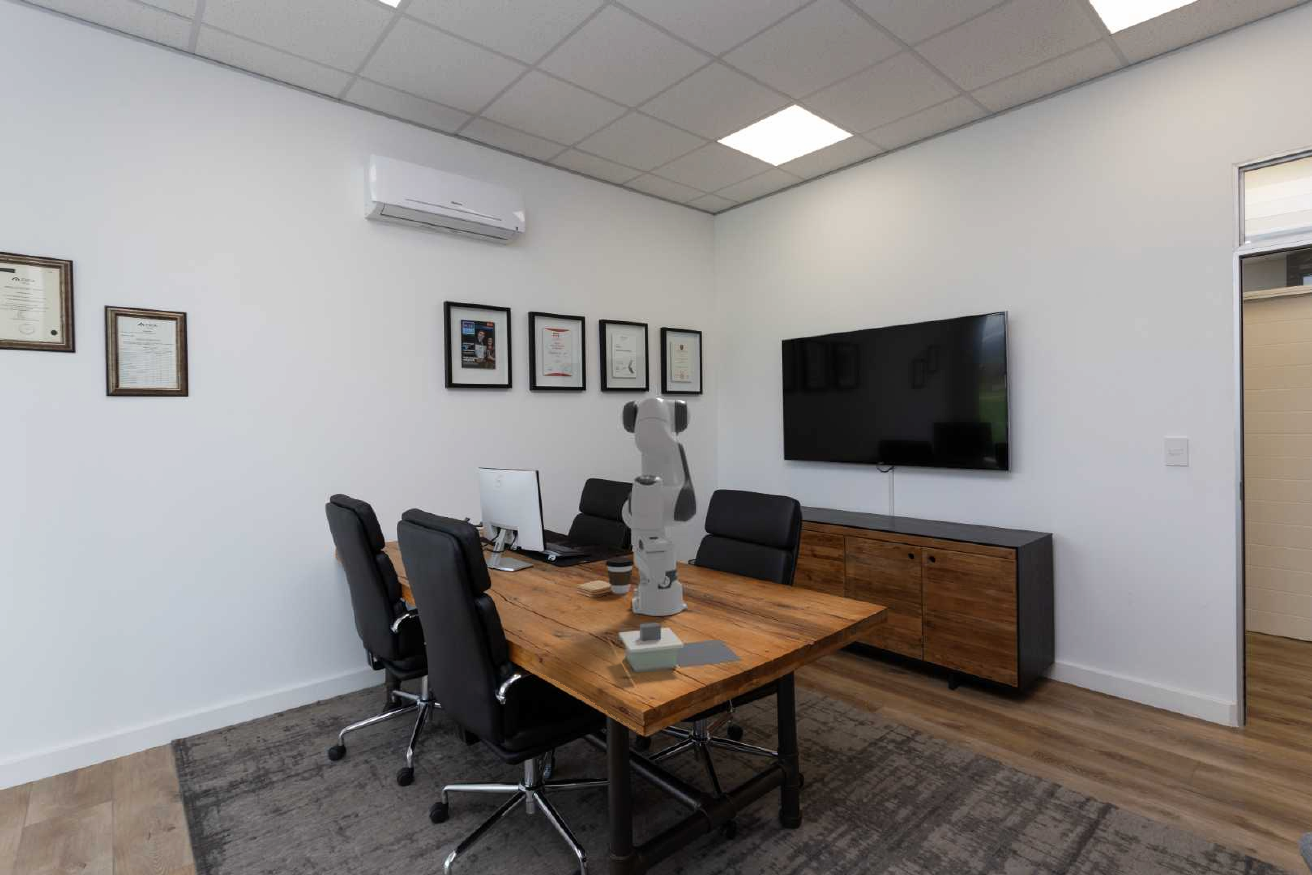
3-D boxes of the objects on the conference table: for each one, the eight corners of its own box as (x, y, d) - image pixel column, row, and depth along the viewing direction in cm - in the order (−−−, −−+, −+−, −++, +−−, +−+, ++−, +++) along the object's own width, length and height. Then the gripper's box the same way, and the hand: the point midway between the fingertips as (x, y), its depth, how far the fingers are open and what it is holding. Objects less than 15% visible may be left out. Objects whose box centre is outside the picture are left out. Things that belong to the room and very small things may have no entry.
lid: (618, 635, 175) (618, 619, 175) (668, 630, 179) (668, 614, 179) (629, 653, 162) (629, 636, 162) (683, 647, 165) (683, 630, 165)
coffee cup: (604, 588, 248) (603, 557, 248) (632, 587, 250) (632, 556, 250) (607, 596, 237) (606, 563, 237) (637, 594, 239) (636, 562, 239)
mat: (662, 646, 183) (662, 645, 183) (719, 640, 187) (719, 639, 187) (680, 668, 167) (680, 667, 167) (742, 661, 171) (742, 660, 171)
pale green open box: (625, 658, 174) (625, 636, 174) (665, 654, 177) (664, 632, 177) (634, 674, 164) (634, 650, 163) (676, 669, 166) (676, 646, 166)
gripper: (628, 531, 179) (628, 581, 179) (645, 546, 159) (645, 602, 160) (650, 530, 180) (650, 579, 181) (670, 545, 160) (670, 600, 161)
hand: (648, 590), depth 170 cm, fingers open, 8 cm apart
